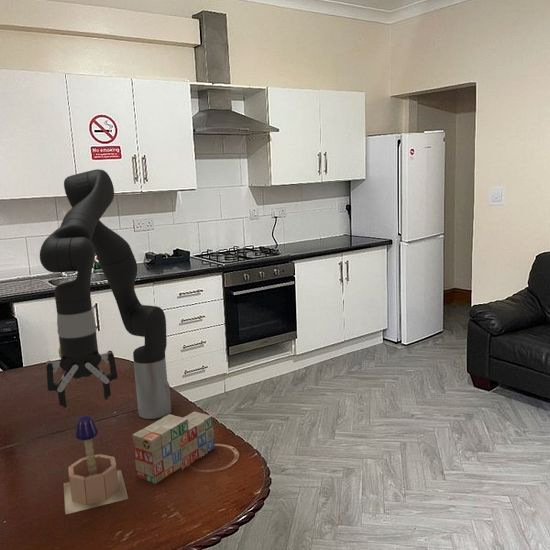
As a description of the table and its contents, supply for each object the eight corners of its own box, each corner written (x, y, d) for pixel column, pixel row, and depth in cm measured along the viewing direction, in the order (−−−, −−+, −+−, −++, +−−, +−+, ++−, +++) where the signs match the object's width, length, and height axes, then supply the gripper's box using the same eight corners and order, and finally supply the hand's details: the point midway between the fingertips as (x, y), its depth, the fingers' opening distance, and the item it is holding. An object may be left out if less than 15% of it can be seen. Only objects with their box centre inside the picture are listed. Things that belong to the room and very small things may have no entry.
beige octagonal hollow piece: (115, 474, 131) (112, 451, 130) (120, 496, 122) (117, 471, 121) (70, 484, 127) (67, 461, 126) (72, 508, 118) (69, 483, 117)
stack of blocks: (197, 443, 147) (193, 400, 145) (215, 449, 144) (212, 404, 142) (136, 482, 130) (131, 433, 128) (155, 489, 126) (150, 440, 124)
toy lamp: (97, 493, 122) (89, 423, 118) (78, 492, 123) (69, 422, 119) (107, 481, 126) (100, 413, 123) (89, 480, 127) (81, 412, 124)
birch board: (121, 474, 133) (121, 469, 133) (128, 503, 121) (128, 498, 121) (64, 487, 128) (63, 483, 128) (66, 519, 117) (65, 514, 116)
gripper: (109, 322, 123) (117, 390, 127) (41, 331, 118) (50, 402, 121) (113, 330, 117) (121, 402, 120) (40, 341, 111) (50, 416, 115)
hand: (85, 402), depth 121 cm, fingers open, 8 cm apart
